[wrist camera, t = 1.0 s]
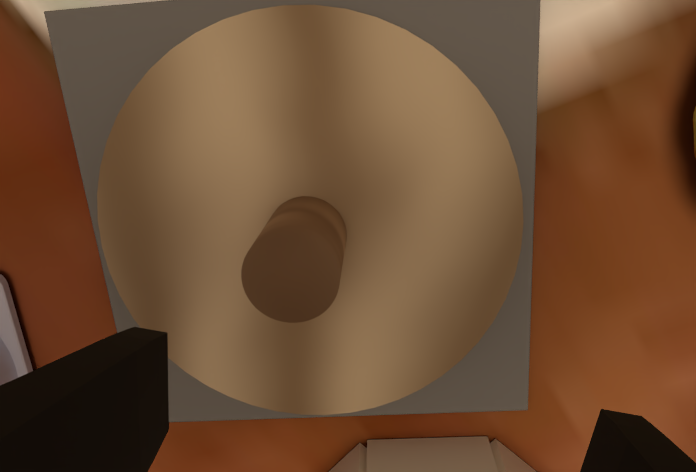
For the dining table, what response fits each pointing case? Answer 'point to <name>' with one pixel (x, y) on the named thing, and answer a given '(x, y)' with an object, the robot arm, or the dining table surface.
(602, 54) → the dining table surface
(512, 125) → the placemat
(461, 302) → the lid
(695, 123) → the decorated donut
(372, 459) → the bowl
